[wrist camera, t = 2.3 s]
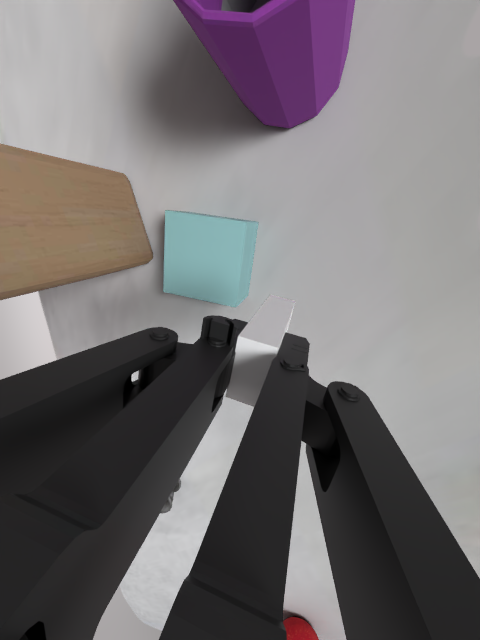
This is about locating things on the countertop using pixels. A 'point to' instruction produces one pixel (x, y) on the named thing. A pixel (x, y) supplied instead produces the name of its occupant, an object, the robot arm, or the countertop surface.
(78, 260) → the wooden block
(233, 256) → the teal block
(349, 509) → the robot arm
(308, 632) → the apple
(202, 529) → the countertop surface
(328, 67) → the mug
